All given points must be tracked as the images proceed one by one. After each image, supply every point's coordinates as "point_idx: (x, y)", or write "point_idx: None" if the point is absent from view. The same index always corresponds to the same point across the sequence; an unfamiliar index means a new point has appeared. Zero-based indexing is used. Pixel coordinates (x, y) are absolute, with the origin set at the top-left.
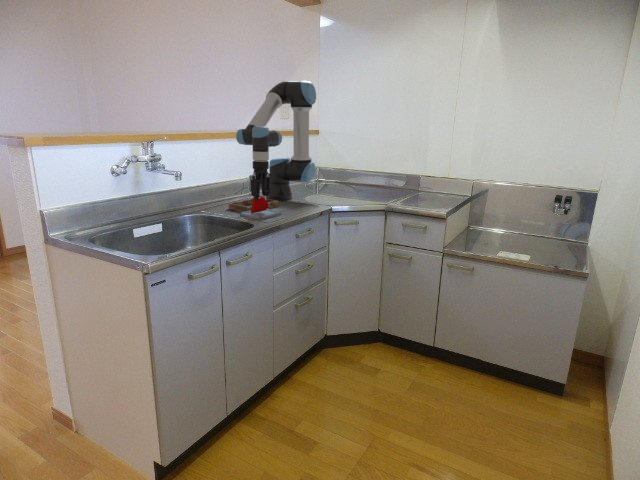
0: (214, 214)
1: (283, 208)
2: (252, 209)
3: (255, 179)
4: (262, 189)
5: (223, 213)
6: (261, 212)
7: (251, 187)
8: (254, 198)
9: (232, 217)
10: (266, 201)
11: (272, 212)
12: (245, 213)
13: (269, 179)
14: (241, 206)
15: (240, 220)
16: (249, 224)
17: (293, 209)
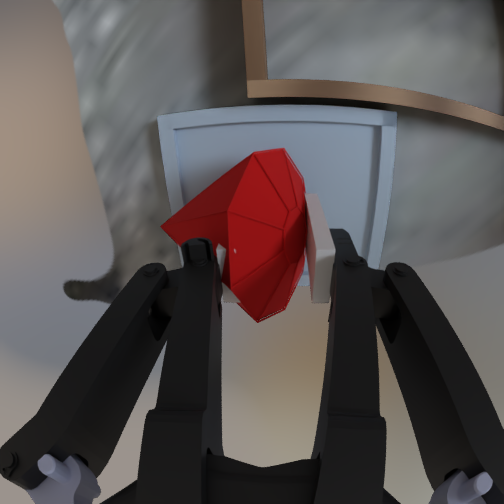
0: (86, 7)
1: (499, 189)
2: (170, 235)
3: (96, 473)
4: (332, 318)
5: (133, 4)
6: None
7: (95, 341)
8: (213, 230)
9: (108, 121)
10: (276, 311)
11: None
12: (170, 158)
13: (431, 460)
14: (243, 21)
15: (108, 205)
16: (111, 283)
17: (497, 243)
